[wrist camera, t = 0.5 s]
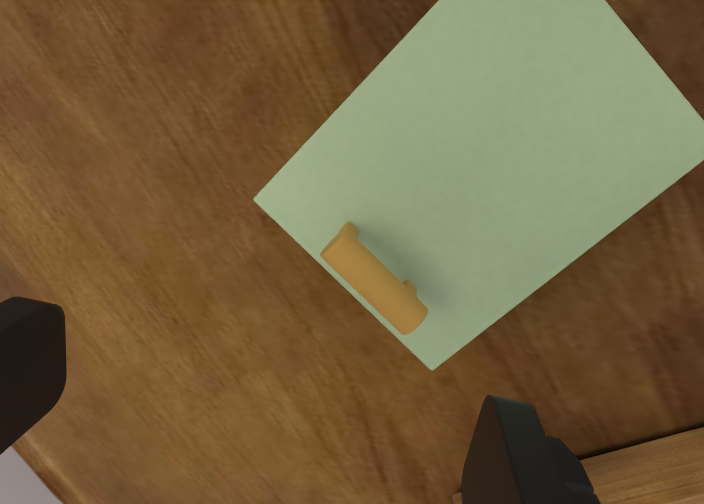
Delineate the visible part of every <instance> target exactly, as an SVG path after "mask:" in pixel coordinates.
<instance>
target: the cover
mask: <svg viewBox="0 0 704 504" xmlns="http://www.w3.org/2000/svg"><path fill="white" fill-rule="evenodd" d="M703 160H704V120H703V119H702V118H701V117H700V115H699V114H698V113H697V112H696V111H695V109H694V108H693V107H692V106H691V105H690V103H689V102H688V101H687V100H686V98H685V97H684V96H683V95H682V94H681V92H680V91H679V90H678V89H677V87H676V86H675V85H674V84H673V83H672V81H671V80H670V79H669V78H668V76H667V75H666V74H665V73H664V72H663V70H662V69H661V68H660V67H659V65H658V64H657V63H656V62H655V61H654V59H653V58H652V57H651V56H650V55H649V53H648V52H647V51H646V50H645V48H644V47H643V46H642V45H641V44H640V42H639V41H638V40H637V39H636V37H635V36H634V35H633V34H632V33H631V31H630V30H629V29H628V28H627V26H626V25H625V24H624V23H623V22H622V20H621V19H620V18H619V17H618V15H617V14H616V13H615V12H614V11H613V9H612V8H611V7H610V6H609V4H608V3H607V2H606V1H605V0H438V2H437V3H436V4H435V5H434V6H433V7H432V8H431V9H430V10H429V11H428V12H427V13H426V14H425V15H424V17H423V18H422V19H421V20H420V21H419V22H418V23H417V24H416V25H415V26H414V27H413V28H412V29H411V30H410V32H409V33H408V34H407V35H406V36H405V37H404V38H403V39H402V40H401V41H400V42H399V43H398V44H397V45H396V46H395V48H394V49H393V50H392V51H391V52H390V53H389V54H388V55H387V56H386V57H385V58H384V59H383V60H382V61H381V63H380V64H379V65H378V66H377V67H376V68H375V69H374V70H373V71H372V72H371V73H370V74H369V75H368V76H367V77H366V79H365V80H364V81H363V82H362V83H361V84H360V85H359V86H358V87H357V88H356V89H355V90H354V91H353V92H352V94H351V95H350V96H349V97H348V98H347V99H346V100H345V101H344V102H343V103H342V104H341V105H340V106H339V107H338V109H337V110H336V111H335V112H334V113H333V114H332V115H331V116H330V117H329V118H328V119H327V120H326V121H325V122H324V123H323V125H322V126H321V127H320V128H319V129H318V130H317V131H316V132H315V133H314V134H313V135H312V136H311V137H310V138H309V140H308V141H307V142H306V143H305V144H304V145H303V146H302V147H301V148H300V149H299V150H298V151H297V152H296V153H295V155H294V156H293V157H292V158H291V159H290V160H289V161H288V162H287V163H286V164H285V165H284V166H283V167H282V168H281V169H280V171H279V172H278V173H277V174H276V175H275V176H274V177H273V178H272V179H271V180H270V181H269V182H268V183H267V184H266V186H265V187H264V188H263V189H262V190H261V191H260V192H259V193H258V194H257V195H256V196H255V197H254V198H253V200H254V201H255V202H256V203H257V204H258V205H259V206H260V207H261V208H262V209H263V210H264V211H265V212H266V213H267V214H268V215H269V216H270V217H271V218H272V219H273V220H275V221H276V222H277V223H278V224H279V225H280V226H281V227H282V228H283V229H284V230H285V231H286V232H287V233H288V234H289V235H290V236H291V237H292V238H293V239H294V240H295V241H296V242H297V243H299V244H300V245H301V246H302V247H303V248H304V249H305V250H306V251H307V252H308V253H309V254H310V255H311V256H312V257H313V258H314V259H315V260H316V261H317V262H318V263H319V264H320V265H322V266H323V267H324V268H325V269H326V270H327V271H328V272H329V273H330V274H331V275H332V276H333V277H334V278H335V279H336V280H337V281H338V282H339V283H340V284H341V285H342V286H343V287H344V288H346V289H347V290H348V291H349V292H350V293H351V294H352V295H353V296H354V297H355V298H356V299H357V300H358V301H359V302H360V303H361V304H362V305H363V306H364V307H365V308H366V309H367V310H368V311H370V312H371V313H372V314H373V315H374V316H375V317H376V318H377V319H378V320H379V321H380V322H381V323H382V324H383V325H384V326H385V327H386V328H387V329H388V330H389V331H390V332H391V333H392V334H394V335H395V336H396V337H397V338H398V339H399V340H400V341H401V342H402V343H403V344H404V345H405V346H406V347H407V348H408V349H409V350H410V351H411V352H412V353H413V354H414V355H415V356H416V357H418V358H419V359H420V360H421V361H422V362H423V363H424V364H425V365H426V366H427V367H428V368H429V369H430V370H431V371H433V370H434V369H435V368H436V367H438V366H439V365H440V364H442V363H443V362H444V361H446V360H447V359H448V358H449V357H451V356H452V355H453V354H455V353H456V352H457V351H458V350H460V349H461V348H462V347H464V346H465V345H466V344H467V343H469V342H470V341H471V340H473V339H474V338H475V337H476V336H478V335H479V334H480V333H482V332H483V331H484V330H485V329H487V328H488V327H489V326H491V325H492V324H493V323H494V322H496V321H497V320H498V319H500V318H501V317H502V316H503V315H505V314H506V313H507V312H509V311H510V310H511V309H512V308H514V307H515V306H516V305H518V304H519V303H520V302H521V301H523V300H524V299H525V298H527V297H528V296H529V295H530V294H532V293H533V292H534V291H536V290H537V289H538V288H540V287H541V286H542V285H543V284H545V283H546V282H547V281H549V280H550V279H551V278H552V277H554V276H555V275H556V274H558V273H559V272H560V271H561V270H563V269H564V268H565V267H567V266H568V265H569V264H570V263H572V262H573V261H574V260H576V259H577V258H578V257H579V256H581V255H582V254H583V253H585V252H586V251H587V250H588V249H590V248H591V247H592V246H594V245H595V244H596V243H597V242H599V241H600V240H601V239H603V238H604V237H605V236H606V235H608V234H609V233H610V232H612V231H613V230H614V229H615V228H617V227H618V226H619V225H621V224H622V223H623V222H624V221H626V220H627V219H628V218H630V217H631V216H632V215H633V214H635V213H636V212H637V211H639V210H640V209H641V208H643V207H644V206H645V205H646V204H648V203H649V202H650V201H652V200H653V199H654V198H655V197H657V196H658V195H659V194H661V193H662V192H663V191H664V190H666V189H667V188H668V187H670V186H671V185H672V184H673V183H675V182H676V181H677V180H679V179H680V178H681V177H682V176H684V175H685V174H686V173H688V172H689V171H690V170H691V169H693V168H694V167H695V166H697V165H698V164H699V163H700V162H702V161H703Z"/></svg>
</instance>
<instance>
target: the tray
mask: <svg viewBox="0 0 704 504" xmlns="http://www.w3.org/2000/svg"><path fill="white" fill-rule="evenodd" d="M580 462H581V463H582V465H583V467H584V469H585V471H586V473H587V475H588V477H589V480H590V482H591V484H592V486H593V488H594V494H596V495H597V497H598V499H599V501H600V503H601V504H704V427H702V428H698V429H694V430H691V431H687V432H683V433H679V434H675V435H672V436H668V437H664V438H661V439H657V440H653V441H650V442H646V443H642V444H639V445H635V446H631V447H628V448H624V449H620V450H617V451H613V452H609V453H606V454H602V455H598V456H595V457H591V458H587V459H583V460H580ZM452 498H453V504H462V495H461V492H459V493H456V494H453V495H452Z"/></svg>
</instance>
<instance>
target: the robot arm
mask: <svg viewBox="0 0 704 504" xmlns="http://www.w3.org/2000/svg"><path fill="white" fill-rule="evenodd" d="M65 383H66V340H65V315H64V312H63V310H62V308H61V307H60V306H59V305H56V304H52V303H47V302H42V301H37V300H33V299H28V298H23V297H12V298H9V299H7V300H5V301H3V302H1V303H0V454H2V453H3V452H4V451H5V450H6V449H7V448H8V447H10V446H11V445H12V444H13V443H14V442H15V441H16V440H17V439H19V438H20V437H21V436H22V435H23V434H24V433H25V432H26V431H28V430H29V429H30V428H31V427H32V426H33V425H34V424H36V423H37V422H38V421H39V420H40V419H41V418H42V417H43V416H45V415H46V414H47V413H48V412H49V411H50V410H51V409H52V408H53V407H54V406H55V404H56V403H57V402H58V400H59V398H60V396H61V394H62V392H63V390H64V387H65ZM461 495H462V504H601V503H600V501H599V499H598V497H597V495H596V494H594V488H593V486H592V484H591V482H590V480H589V477H588V475H587V473H586V471H585V469H584V467H583V465H582V463H581V462H580V461H579V460H578V459H577V457H576V456H575V455H574V454H573V453H572V452H571V451H570V450H569V449H568V448H567V447H566V445H565V444H564V443H563V442H562V441H561V440H560V439H558V438H553V437H548V436H545V434H544V431H543V429H542V426H541V424H540V421H539V419H538V416H537V414H536V411H535V409H534V407H533V405H532V404H530V403H527V402H522V401H517V400H512V399H507V398H502V397H498V396H493V395H488V396H487V397H486V398H485V400H484V402H483V405H482V408H481V411H480V414H479V418H478V421H477V424H476V428H475V431H474V434H473V438H472V441H471V444H470V447H469V451H468V454H467V457H466V461H465V464H464V469H463V476H462V488H461Z"/></svg>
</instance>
